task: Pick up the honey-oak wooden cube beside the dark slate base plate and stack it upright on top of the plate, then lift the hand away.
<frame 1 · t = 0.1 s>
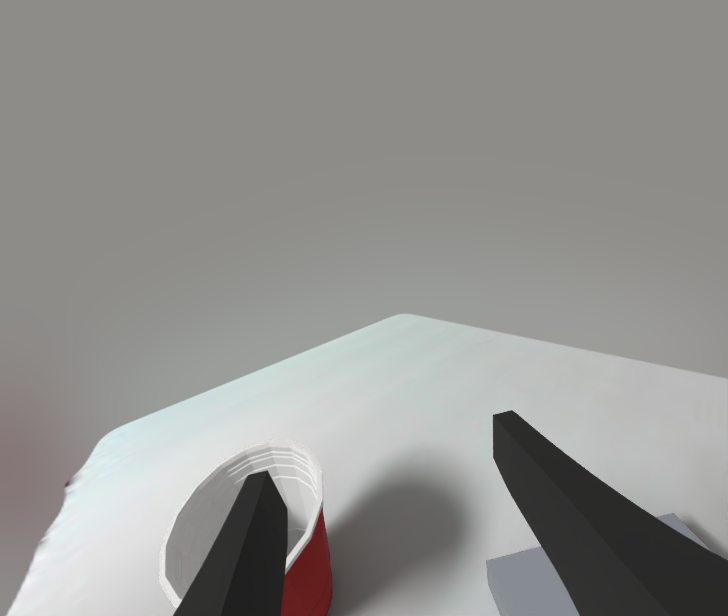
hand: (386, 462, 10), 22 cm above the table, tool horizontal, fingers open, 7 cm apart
plastic cup: (296, 602, 26), on the table
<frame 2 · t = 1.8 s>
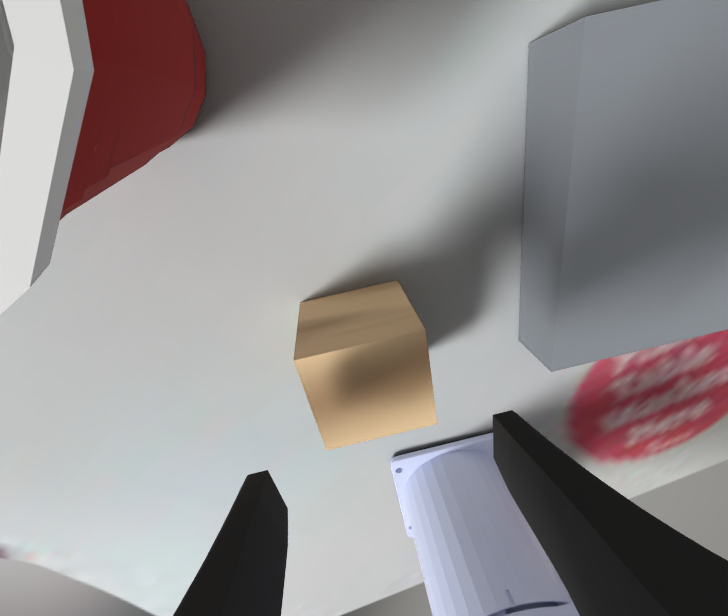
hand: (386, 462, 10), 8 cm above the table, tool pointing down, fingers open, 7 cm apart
plastic cup: (119, 63, 12), on the table
oak cube: (358, 331, 18), on the table
slate base: (659, 190, 16), on the table
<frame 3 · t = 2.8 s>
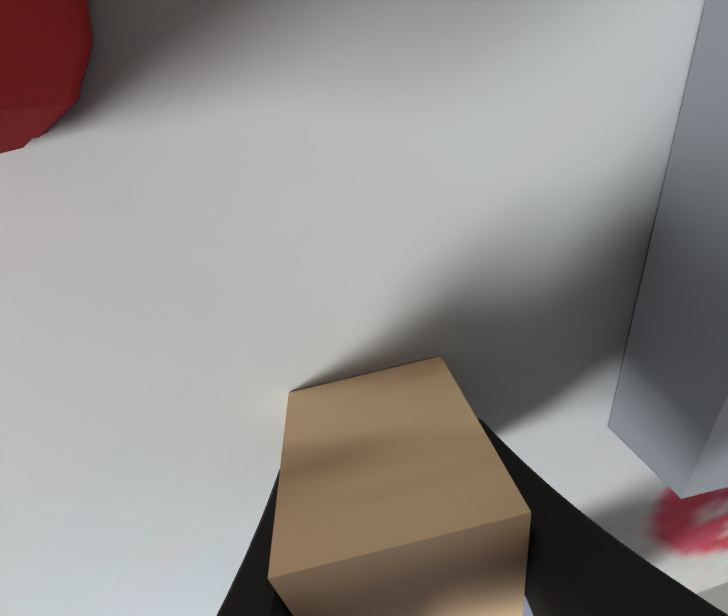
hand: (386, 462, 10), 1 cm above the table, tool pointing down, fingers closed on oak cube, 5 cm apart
oak cube: (378, 428, 12), on the table, touching gripper
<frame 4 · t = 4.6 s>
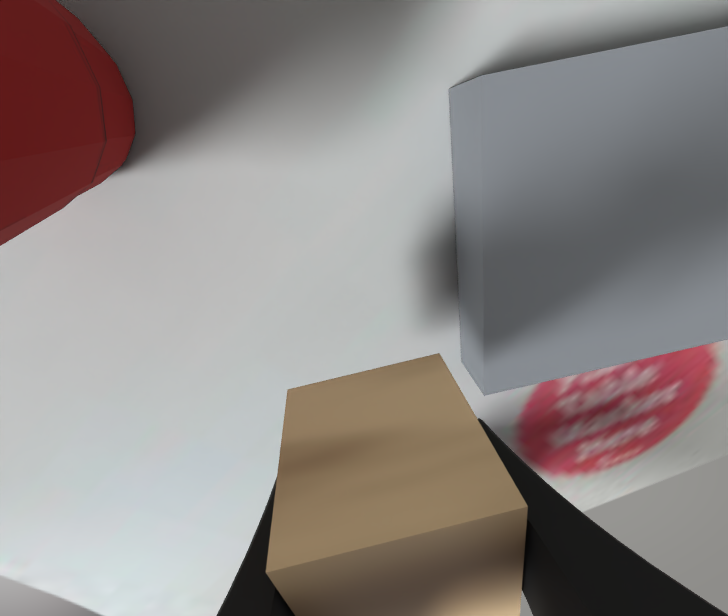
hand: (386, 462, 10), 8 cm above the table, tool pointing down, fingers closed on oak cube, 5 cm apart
plastic cup: (50, 104, 12), on the table
oak cube: (377, 425, 12), point 7 cm above the table, touching gripper
slate base: (588, 223, 17), on the table
when the fingers open (6 cm above the table, at t = 6.3 s): oak cube drops 1 cm, resting on slate base.
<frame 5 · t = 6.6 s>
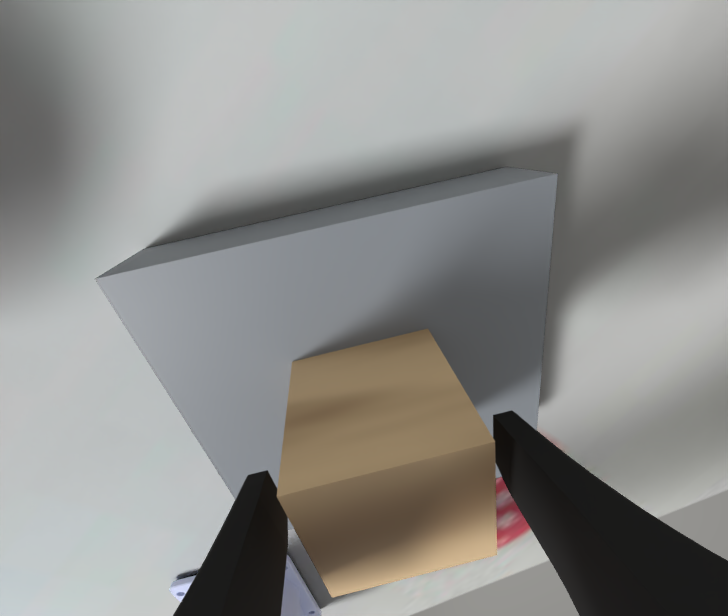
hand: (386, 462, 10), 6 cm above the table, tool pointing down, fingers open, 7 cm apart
oak cube: (373, 396, 13), point 3 cm above the table, touching slate base
slate base: (363, 355, 16), on the table
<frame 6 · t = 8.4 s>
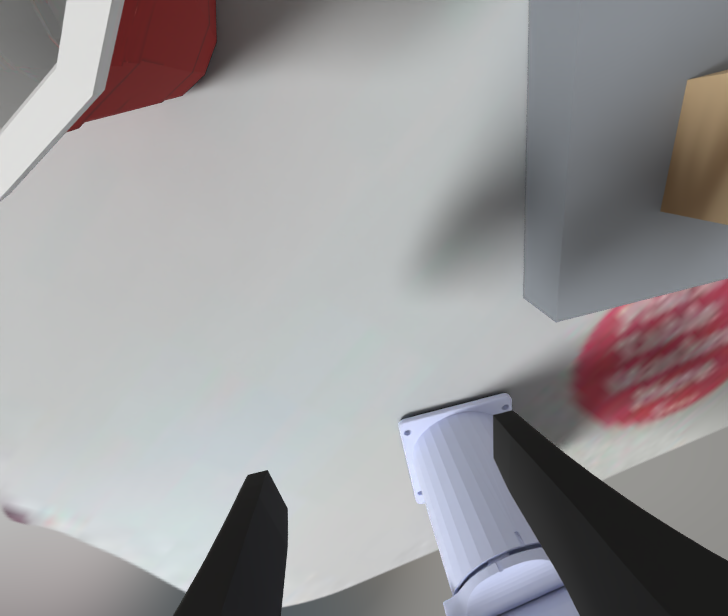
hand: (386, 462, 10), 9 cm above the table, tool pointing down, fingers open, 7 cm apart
plastic cup: (132, 13, 12), on the table
slate base: (661, 140, 16), on the table
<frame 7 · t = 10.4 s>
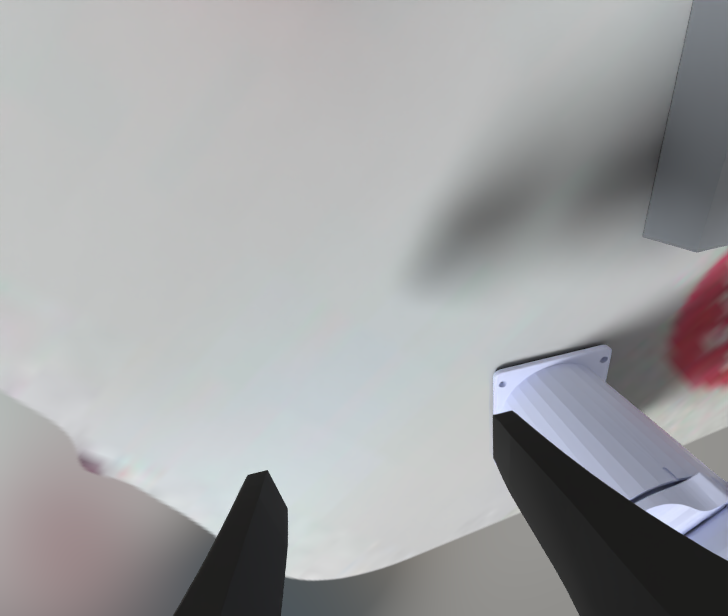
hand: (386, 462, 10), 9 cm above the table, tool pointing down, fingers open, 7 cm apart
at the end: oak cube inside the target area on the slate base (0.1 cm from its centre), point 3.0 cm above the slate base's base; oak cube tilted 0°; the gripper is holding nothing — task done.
